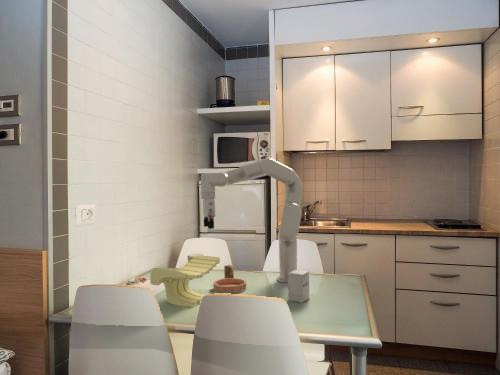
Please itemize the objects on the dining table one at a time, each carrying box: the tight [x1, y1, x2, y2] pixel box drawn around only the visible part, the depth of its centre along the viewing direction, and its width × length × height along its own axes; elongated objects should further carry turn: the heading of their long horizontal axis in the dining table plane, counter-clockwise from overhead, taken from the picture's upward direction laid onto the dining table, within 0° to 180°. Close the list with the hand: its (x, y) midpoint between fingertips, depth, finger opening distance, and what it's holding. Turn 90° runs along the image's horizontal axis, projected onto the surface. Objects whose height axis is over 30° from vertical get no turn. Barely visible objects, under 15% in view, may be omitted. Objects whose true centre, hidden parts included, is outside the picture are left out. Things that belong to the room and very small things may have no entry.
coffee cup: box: [187, 253, 204, 278], centre depth 229 cm, size 9×9×12 cm
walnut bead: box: [223, 264, 235, 279], centre depth 217 cm, size 5×5×8 cm
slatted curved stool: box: [149, 255, 221, 308], centre depth 184 cm, size 30×16×18 cm, turn 150°
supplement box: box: [287, 269, 310, 303], centre depth 182 cm, size 7×7×13 cm
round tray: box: [213, 277, 247, 294], centre depth 201 cm, size 16×16×4 cm
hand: (208, 227), depth 217 cm, fingers open, 9 cm apart
